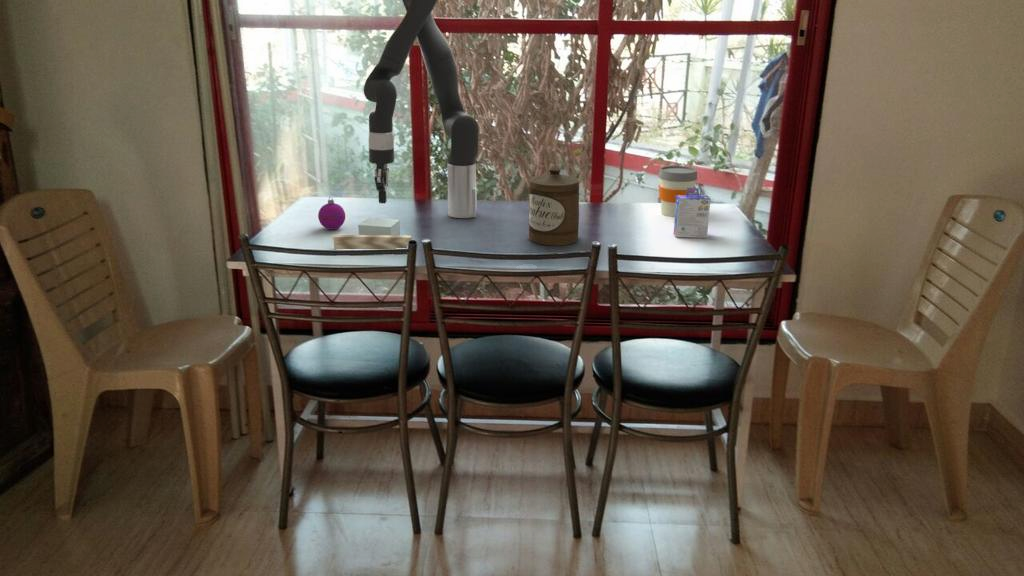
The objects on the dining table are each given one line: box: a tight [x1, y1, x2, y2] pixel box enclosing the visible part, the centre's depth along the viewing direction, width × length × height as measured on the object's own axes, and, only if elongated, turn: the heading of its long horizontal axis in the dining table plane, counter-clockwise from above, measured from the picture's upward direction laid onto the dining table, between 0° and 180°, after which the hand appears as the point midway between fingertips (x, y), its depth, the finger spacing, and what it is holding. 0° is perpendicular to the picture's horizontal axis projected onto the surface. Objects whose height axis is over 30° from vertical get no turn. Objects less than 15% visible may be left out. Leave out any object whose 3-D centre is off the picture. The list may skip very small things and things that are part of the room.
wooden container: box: [528, 165, 580, 246], centre depth 247 cm, size 15×15×22 cm
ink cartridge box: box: [673, 187, 711, 239], centre depth 252 cm, size 10×6×14 cm, turn 90°
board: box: [332, 234, 413, 250], centre depth 238 cm, size 22×2×4 cm, turn 90°
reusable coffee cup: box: [658, 165, 698, 218], centre depth 277 cm, size 13×13×15 cm
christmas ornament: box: [317, 197, 346, 230], centre depth 256 cm, size 8×8×10 cm
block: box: [358, 217, 401, 235], centre depth 249 cm, size 10×8×5 cm
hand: (382, 202), depth 257 cm, fingers closed
